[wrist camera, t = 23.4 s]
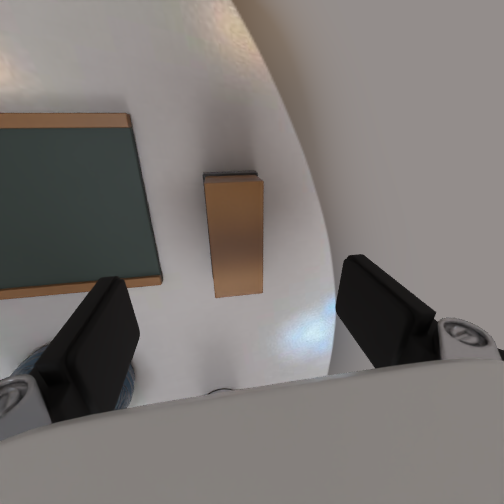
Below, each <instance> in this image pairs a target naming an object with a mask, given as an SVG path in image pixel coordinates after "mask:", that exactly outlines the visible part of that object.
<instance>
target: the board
mask: <svg viewBox="0 0 504 504" xmlns="http://www.w3.org/2000/svg"><path fill="white" fill-rule="evenodd" d="M110 276H118V277H119V278H120V279H124V281H125V283H126V286H127V288H132V287H143V286H154V285H161V284H162V281H163V278H162V273H161V268H160V263H159V259H158V254H157V249H156V244H155V239H154V234H153V229H152V224H151V219H150V214H149V209H148V204H147V199H146V194H145V189H144V184H143V179H142V174H141V169H140V164H139V159H138V154H137V149H136V144H135V139H134V134H133V129H132V124H131V119H130V115H129V114H127V113H0V300H2V299H13V298H24V297H35V296H45V295H56V294H67V293H78V292H89V291H91V289H92V288H93V287H94V285H95V284H96V283H97V281H98V280H99V279H100V278H101V277H110Z"/></svg>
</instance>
